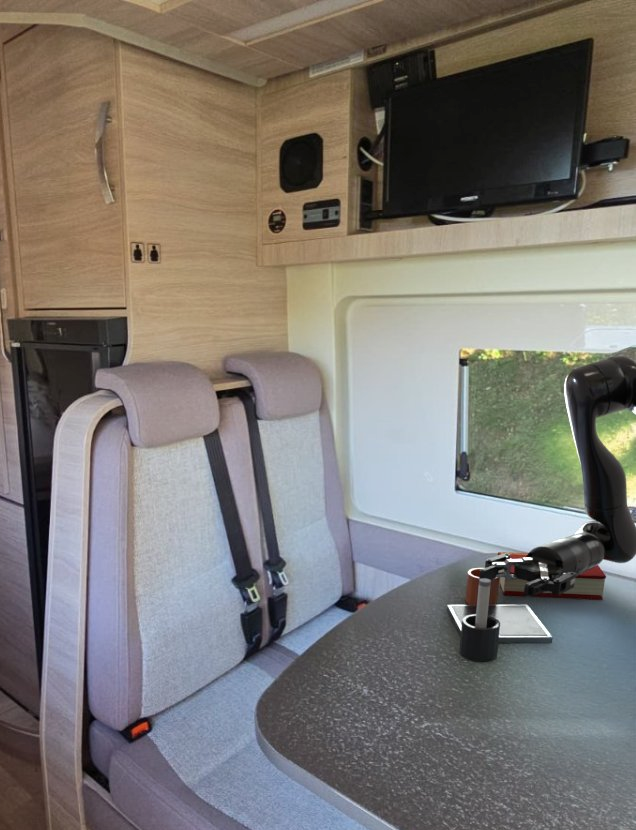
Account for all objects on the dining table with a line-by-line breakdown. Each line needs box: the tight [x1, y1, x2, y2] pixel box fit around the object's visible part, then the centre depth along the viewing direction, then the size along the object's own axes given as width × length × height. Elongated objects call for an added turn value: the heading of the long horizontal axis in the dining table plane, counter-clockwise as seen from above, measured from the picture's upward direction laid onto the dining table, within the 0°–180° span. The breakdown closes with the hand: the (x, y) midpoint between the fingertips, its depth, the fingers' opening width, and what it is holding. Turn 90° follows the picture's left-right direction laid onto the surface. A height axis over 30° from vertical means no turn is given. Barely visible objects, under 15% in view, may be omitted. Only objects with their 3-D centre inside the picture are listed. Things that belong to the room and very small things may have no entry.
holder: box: [459, 614, 500, 663], centre depth 122 cm, size 6×6×6 cm
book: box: [496, 551, 607, 601], centre depth 148 cm, size 18×13×5 cm
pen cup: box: [464, 567, 500, 605], centre depth 142 cm, size 6×6×6 cm
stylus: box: [475, 578, 491, 628], centre depth 120 cm, size 2×2×13 cm
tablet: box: [446, 604, 554, 644], centre depth 132 cm, size 15×14×1 cm
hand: (503, 583), depth 121 cm, fingers open, 8 cm apart
